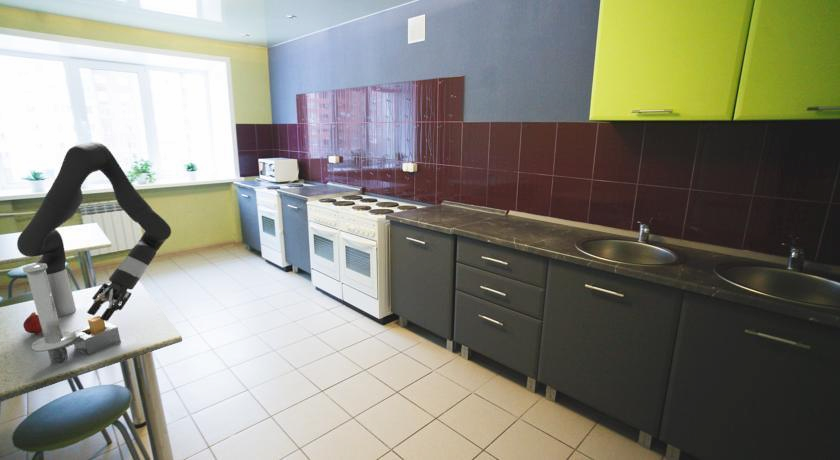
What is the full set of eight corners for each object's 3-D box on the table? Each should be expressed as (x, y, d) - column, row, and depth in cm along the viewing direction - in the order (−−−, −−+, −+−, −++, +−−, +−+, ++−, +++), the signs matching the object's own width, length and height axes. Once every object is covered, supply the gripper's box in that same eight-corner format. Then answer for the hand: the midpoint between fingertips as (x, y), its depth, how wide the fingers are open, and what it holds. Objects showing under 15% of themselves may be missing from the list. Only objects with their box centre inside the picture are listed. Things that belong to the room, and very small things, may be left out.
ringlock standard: (31, 364, 119) (3, 268, 111) (106, 335, 135) (86, 250, 128) (46, 373, 114) (18, 274, 106) (121, 342, 131) (102, 254, 123)
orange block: (93, 344, 129) (87, 319, 127) (104, 340, 132) (98, 315, 130) (98, 346, 128) (92, 321, 126) (109, 342, 131) (103, 317, 128)
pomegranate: (35, 339, 133) (29, 317, 131) (21, 337, 134) (15, 316, 132) (53, 330, 138) (48, 309, 136) (41, 329, 140) (35, 308, 138)
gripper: (107, 264, 135) (74, 308, 128) (130, 271, 129) (96, 317, 122) (127, 274, 141) (97, 316, 134) (150, 281, 134) (119, 326, 128)
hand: (96, 317), depth 128 cm, fingers open, 8 cm apart
